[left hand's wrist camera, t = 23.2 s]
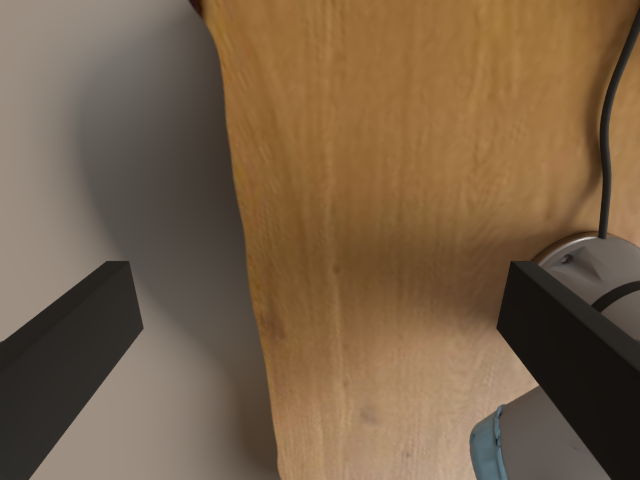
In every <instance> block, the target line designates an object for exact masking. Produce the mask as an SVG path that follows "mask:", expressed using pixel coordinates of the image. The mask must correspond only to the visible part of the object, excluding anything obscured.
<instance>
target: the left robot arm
mask: <svg viewBox="0 0 640 480" xmlns="http://www.w3.org/2000/svg"><path fill="white" fill-rule="evenodd" d="M639 32H640V8H639V10H638V13H637V15H636V18H635V20H634V23H633V25H632V28H631V30H630V33H629V35H628V38H627V40H626V43H625V45H624V48H623V50H622V53H621V55H620V58H619V60H618V63H617V65H616V68H615V70H614V73H613V75H612V78H611V81H610V84H609V87H608V90H607V93H606V97H605V101H604V105H603V109H602V115H601V122H600V151H601V160H602V172H603V188H602V201H601V212H600V223H599V232H587V233H580V234H576V235H572V236H569V237H566V238H564V239H562V240H560V241H557V242H556V243H554V244H552V245H550V246H549V247H547V248H546V249H545V250H543V251H542V252H541V253H540V254H539V255H538V256H536V257H535V258H534V260H533V261H511V263H510V268H509V273H508V277H507V282H506V286H505V291H504V296H503V300H502V305H501V309H500V314H499V319H498V323H497V328H496V329H497V330H498V331H499V332H500V334H501V335H502V336H503V338H504V339H505V340H506V342H507V343H508V344H509V346H510V347H511V348H512V350H513V351H514V352H515V354H516V355H517V356H518V357H519V359H520V360H521V361H522V363H523V364H524V365H525V367H526V368H527V369H528V371H529V372H530V373H531V375H532V376H533V377H534V379H535V380H536V381H537V383H538V384H539V386H538V387H536V388H534V389H532V390H531V391H529V392H527V393H526V394H524V395H522V396H520V397H519V398H517V399H515V400H514V401H512V402H510V403H508V404H506V405H505V404H503V405H501V406H499V407H498V408H497V410H496V411H495V412H493V413H492V414H491V415H489V416H488V417H486V418H485V419H483V420H482V421H480V422H479V423H477V424H476V425H475V426H474V428H473V429H472V431H471V435H470V440H469V442H470V455H471V460H472V465H473V469H474V472H475V475H476V478H477V480H640V248H639V247H637V246H636V245H634V244H633V243H631V242H629V241H627V240H624V239H622V238H620V237H618V236H615V235H613V234H609V233H607V226H608V216H609V205H610V194H611V162H610V152H609V136H608V134H609V120H610V114H611V109H612V104H613V100H614V96H615V93H616V90H617V87H618V84H619V81H620V78H621V76H622V73H623V71H624V68H625V66H626V63H627V61H628V59H629V56H630V54H631V51H632V49H633V47H634V44H635V42H636V39H637V37H638V34H639ZM142 330H143V323H142V319H141V314H140V309H139V305H138V300H137V296H136V291H135V286H134V282H133V277H132V273H131V268H130V263H129V261H106V262H105V263H104V264H103V265H101V266H100V267H99V268H97V269H96V270H95V271H93V272H92V273H91V274H90V275H88V276H87V277H86V278H84V279H83V280H82V281H80V282H79V283H78V284H77V285H75V286H74V287H73V288H72V289H70V290H69V291H68V292H66V293H65V294H64V295H62V296H61V297H60V298H59V299H57V300H56V301H55V302H53V303H52V304H51V305H50V306H48V307H47V308H46V309H44V310H43V311H42V312H40V313H39V314H38V315H37V316H35V317H34V318H33V319H31V320H30V321H29V322H28V323H26V324H25V325H24V326H22V327H21V328H20V329H18V330H17V331H16V332H15V333H13V334H12V335H11V336H9V337H8V338H7V339H6V340H4V341H2V342H0V480H29V479H30V477H31V476H32V475H33V473H34V472H35V471H36V469H37V468H38V467H39V465H40V464H41V463H42V461H43V460H44V459H45V458H46V456H47V455H48V454H49V452H50V451H51V450H52V448H53V447H54V446H55V444H56V443H57V442H58V440H59V439H60V438H61V436H62V435H63V434H64V433H65V431H66V430H67V429H68V427H69V426H70V425H71V423H72V422H73V421H74V419H75V418H76V417H77V415H78V414H79V413H80V411H81V410H82V409H83V408H84V406H85V405H86V403H87V402H88V401H89V400H90V398H91V397H92V396H93V394H94V393H95V392H96V390H97V389H98V388H99V386H100V385H101V384H102V382H103V381H104V380H105V379H106V377H107V376H108V375H109V373H110V372H111V371H112V369H113V368H114V367H115V365H116V364H117V363H118V361H119V360H120V359H121V357H122V356H123V355H124V354H125V352H126V351H127V350H128V348H129V347H130V346H131V344H132V343H133V342H134V340H135V339H136V338H137V336H138V335H139V334H140V332H141V331H142Z"/></svg>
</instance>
